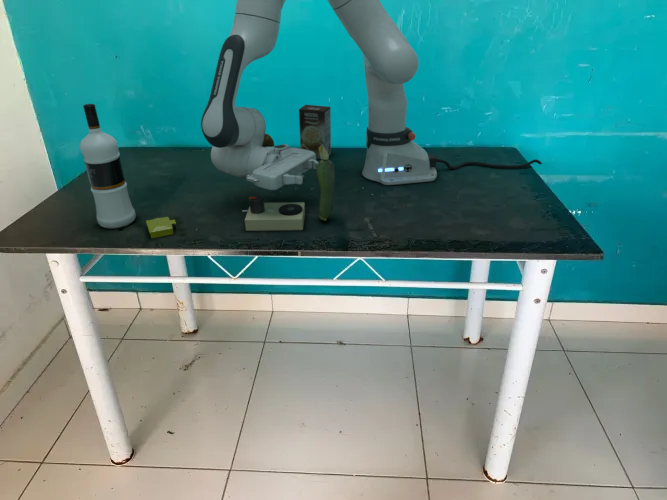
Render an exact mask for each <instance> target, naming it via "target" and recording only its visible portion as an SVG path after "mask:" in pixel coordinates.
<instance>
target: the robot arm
mask: <svg viewBox="0 0 667 500" xmlns="http://www.w3.org/2000/svg"><path fill="white" fill-rule="evenodd" d="M286 1H287V0H236V5H235V10H234V18H233V19H234V20H233V23H232V26H231V30H230V33H229V35H228V36H227V38H226V39H225V40H224V42H223V44H222V46H221V49H220V52H219V55H218V59H217V64H216V68H215V73H214V75H213V76H214V77H213V81H212V85H211V90H210V94H209V98H208V101H207V103H206V105H205V108H204V111H203V112H202V116H201V119H200V129H201V132H202V135H203V137H204V138H205V140H206V142H207V143H208V144H210V145H211V146H212V148H211V150H210V159H211V163H212V165H213V166H214V168H216V170H217V171H219V172H221V173H223V174H225V175H229V176H232V177H236V178H240V179H243V178H245V180H246V181H247V182H249V183H250V182H251V183H253V185H255V186H256V187H258V188H261V189H264V190H268V191H276V190H278V189H280V188H282V187H283V186H285V185H295V184H296V185H302V184H304V183H305V182H306V180H305V179H306V177H305V175H303V174H305V173H306V172H307V171H309V170H311V169H314V170H315V172H317V165H318V163H319V162H320V161H317V158H316V154H315V153H314V152H313V151H309V150H305V149H301V148H299V147H290V145H289V144H278V145H274V147H262V146H263V142H264V137H265V134H266V129H267V128H266V127H267V125H266V120H265V118H264V116H263V113H261V112H260V111H259V110H258V109H256V108H253V107H245V106H236V101H237V97H238V91H239V88H240V84H241V78H242V75H243V72H245V69H246V68H247V67H249V65H250V64H251V63H253V62H255V61H257V60H260V59H262V58H265V57H266V56H268V55H269V54H270V53H271V52H272V51H273V50H274V49H275V48H276V45H277V42H278V39H279V34H280V27H281V21H282V10H283V7H284V4H285V2H286ZM327 2H328V5H330V7H331V9H332V11H333V13H334V14H335V16H336V17H337V18H338V20H339V22H340V23H341V24H342V26H343V28H344V29H345V31H346V32H347V34H348V35H349V37H350V38H351V39H352V41H354V43H355V44H356V46H357V47H358V48H359V49H360V51H361V52H362V60H363V65H364V66H363V67H364V77H365V85H366V93H367V127H366V131H365V145H366V153H365V154H366V155H365V161H364V166H363V169H362V172H361V174H362V176H363V177H364V178H366V179H367V180H370V181H374V182H378V183H380V184H381V185H384V186H394V185H404V184H417V183H426V182H427V183H428V182H434V181H435V180H436V179H437V177H438V172H437V169H436V166H437V163H440V164H441V163H442V164H444V165H445V166H446V167H447V169H449V170H458V169H461V168H463V167H465V166H469V165H471V166H472V165H473V166H483V167H487V168H497V169H498V168H499V169H522V168H526V167H529V166H530V165H532V164H535V163H536V164H538V165H543V163H542V161H541V160H539V159H532V160H530V161H528V162H527V163H524V164H514V165H513V164H512V165H508V164H493V163H488V162H480V161H466V162H461V163H460V164H458V165H457V166H452V165H451V164H450V163H449V162H448V161H446V160H444V159H441V158H437V157H436V156H435V155H434V154H433V153H432V152H431V153H429V152H427V151H426V150H425V149H424V148H423V147H422V146H421V145H419V144H418V143H416V142H415V139H416V133H415V132H413V130H412V129H411V127H407V113H408V111H407V109H408V99H407V96H406V92H405V85H404V84H405V83H408V82H409V81H411V80H412V79H413V78H414V77H415V76H416V74H417V72H418V69H419V58H418V55H417V53H416V51H415V49H414V48H413V47H412V46H411V44H410V43H409V41H408V40H407V38H406V37H405V35H404V34H403V33H402V30H400V28H399V27H398V26H397V24H396V22H394V20H393V18H392V17H391V16H390V15H389V13H388V12H387V10H386V9H385V8H384V6H383V4H382V3H381V1H380V0H327Z"/></svg>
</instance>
